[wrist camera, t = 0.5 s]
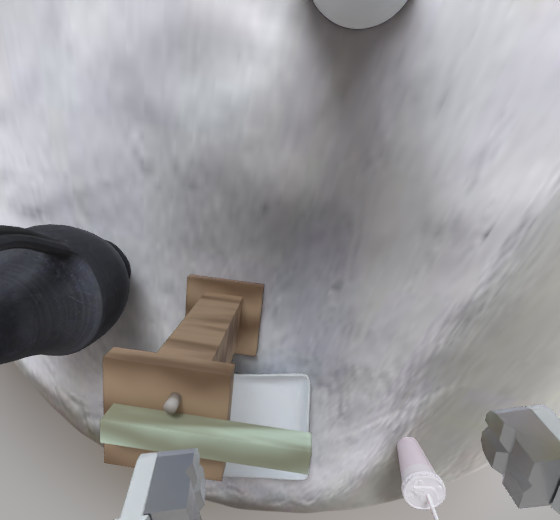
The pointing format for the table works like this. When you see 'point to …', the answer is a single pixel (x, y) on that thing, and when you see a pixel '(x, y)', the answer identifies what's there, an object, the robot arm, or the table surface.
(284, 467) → the bar
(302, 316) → the table surface
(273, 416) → the salad plate
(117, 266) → the pitcher
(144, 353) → the shelf stand
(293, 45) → the table surface
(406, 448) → the smoothie
